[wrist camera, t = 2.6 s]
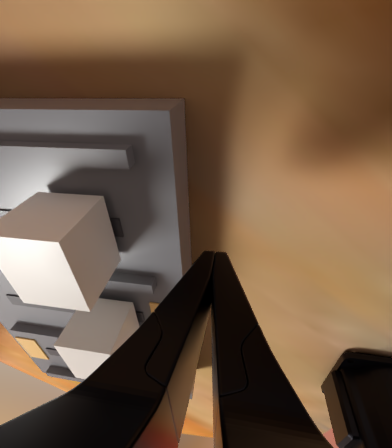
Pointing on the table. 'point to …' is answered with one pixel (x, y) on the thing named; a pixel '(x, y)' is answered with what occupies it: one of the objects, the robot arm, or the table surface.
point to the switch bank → (100, 186)
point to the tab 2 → (96, 335)
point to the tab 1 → (58, 250)
